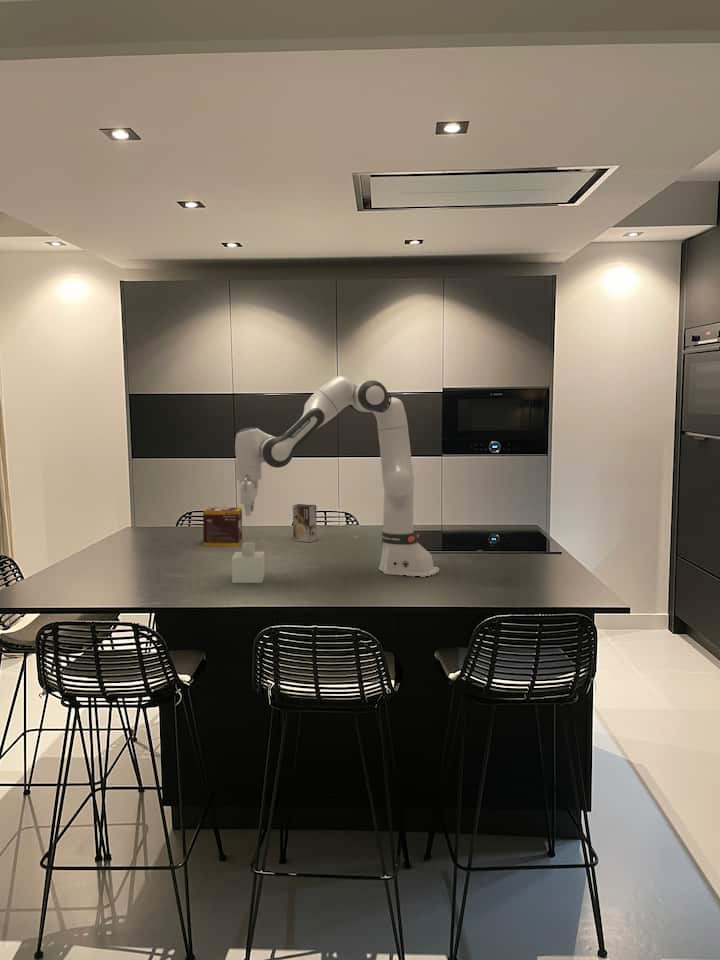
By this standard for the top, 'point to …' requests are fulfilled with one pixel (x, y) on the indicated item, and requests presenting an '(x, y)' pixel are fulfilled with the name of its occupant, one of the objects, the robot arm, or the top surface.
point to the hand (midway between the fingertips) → (249, 513)
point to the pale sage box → (248, 565)
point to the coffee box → (304, 523)
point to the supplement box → (222, 526)
